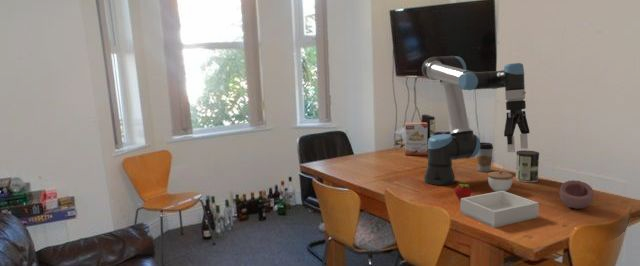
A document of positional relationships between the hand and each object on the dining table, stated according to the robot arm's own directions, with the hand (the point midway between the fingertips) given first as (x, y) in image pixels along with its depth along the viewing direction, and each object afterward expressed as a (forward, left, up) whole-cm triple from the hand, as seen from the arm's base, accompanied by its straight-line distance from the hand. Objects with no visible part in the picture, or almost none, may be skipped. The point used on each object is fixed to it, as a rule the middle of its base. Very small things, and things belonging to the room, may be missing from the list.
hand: (518, 150), depth 185 cm
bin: (+10, -20, -22) cm, 31 cm away
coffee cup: (-45, +25, -22) cm, 56 cm away
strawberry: (-8, -22, -22) cm, 32 cm away
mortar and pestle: (+18, +13, -22) cm, 31 cm away
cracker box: (-98, +18, -22) cm, 102 cm away
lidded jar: (-14, +5, -22) cm, 27 cm away
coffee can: (-21, +30, -22) cm, 43 cm away
